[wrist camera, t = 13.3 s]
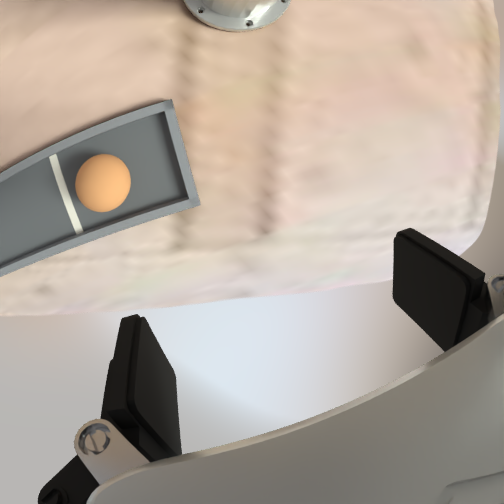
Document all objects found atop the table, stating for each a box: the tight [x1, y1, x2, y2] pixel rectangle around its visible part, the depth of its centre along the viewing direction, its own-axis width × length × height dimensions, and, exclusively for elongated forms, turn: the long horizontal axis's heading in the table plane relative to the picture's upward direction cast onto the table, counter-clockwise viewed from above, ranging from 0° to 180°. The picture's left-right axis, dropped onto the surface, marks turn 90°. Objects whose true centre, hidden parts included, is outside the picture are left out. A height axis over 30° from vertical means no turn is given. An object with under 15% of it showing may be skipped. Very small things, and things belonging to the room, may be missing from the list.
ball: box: [75, 154, 131, 212], centre depth 28 cm, size 6×6×6 cm
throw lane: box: [0, 99, 200, 277], centre depth 29 cm, size 12×35×2 cm, turn 103°
